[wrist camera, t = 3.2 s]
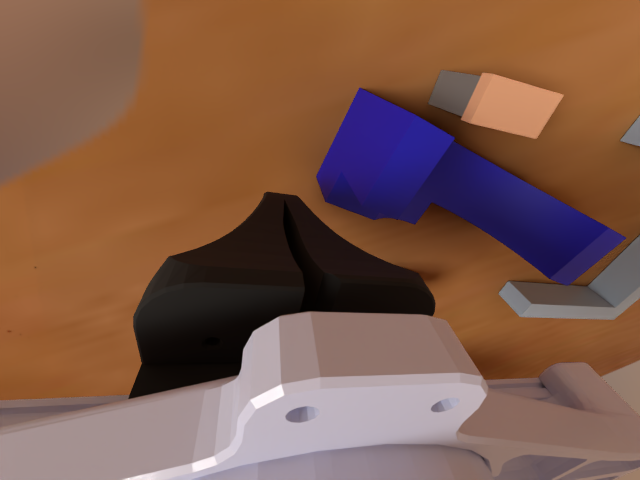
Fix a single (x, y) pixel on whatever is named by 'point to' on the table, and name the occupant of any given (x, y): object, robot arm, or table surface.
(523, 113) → the posts
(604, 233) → the blue stepped bar
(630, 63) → the table surface
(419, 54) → the table surface
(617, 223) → the table surface
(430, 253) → the table surface
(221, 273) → the robot arm
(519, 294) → the grey bent bracket
